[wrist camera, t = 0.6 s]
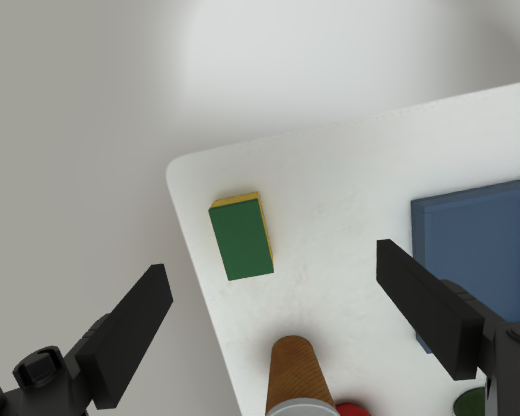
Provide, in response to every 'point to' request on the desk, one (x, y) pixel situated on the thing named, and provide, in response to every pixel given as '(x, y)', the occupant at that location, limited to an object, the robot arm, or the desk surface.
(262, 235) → the sponge
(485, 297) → the tray
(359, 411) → the apple
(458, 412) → the wine bottle
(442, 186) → the desk surface
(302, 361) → the disposable coffee cup
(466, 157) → the desk surface
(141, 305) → the robot arm
